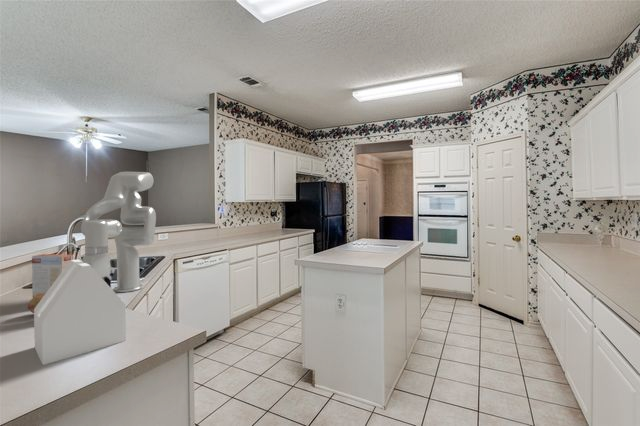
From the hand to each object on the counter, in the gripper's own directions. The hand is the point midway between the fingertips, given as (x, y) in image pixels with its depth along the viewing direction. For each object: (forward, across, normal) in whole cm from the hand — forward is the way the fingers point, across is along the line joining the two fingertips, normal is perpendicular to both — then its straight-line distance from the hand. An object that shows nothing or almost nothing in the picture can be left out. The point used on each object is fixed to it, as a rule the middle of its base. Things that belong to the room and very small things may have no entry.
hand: (96, 292), depth 123 cm
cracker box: (+7, -5, -26) cm, 27 cm away
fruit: (+7, +8, -16) cm, 19 cm away
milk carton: (+7, +29, +22) cm, 37 cm away
